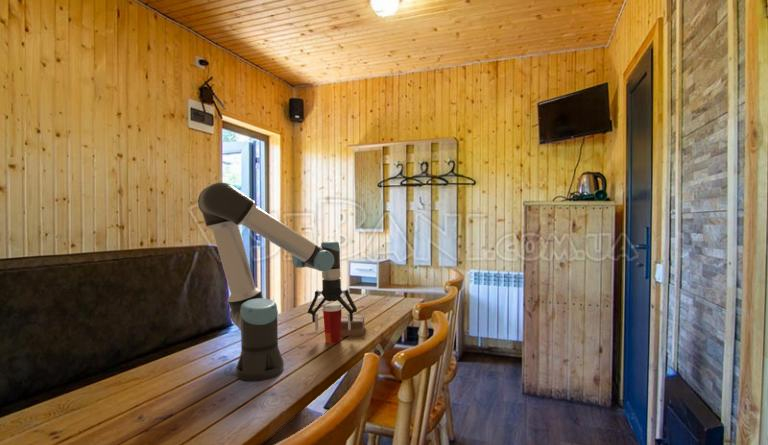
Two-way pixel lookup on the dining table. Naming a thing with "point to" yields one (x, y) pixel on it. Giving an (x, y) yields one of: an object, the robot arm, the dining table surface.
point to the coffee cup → (332, 323)
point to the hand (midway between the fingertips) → (333, 329)
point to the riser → (352, 325)
